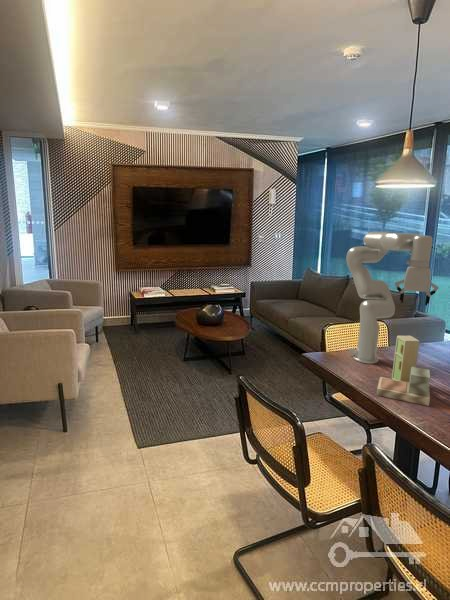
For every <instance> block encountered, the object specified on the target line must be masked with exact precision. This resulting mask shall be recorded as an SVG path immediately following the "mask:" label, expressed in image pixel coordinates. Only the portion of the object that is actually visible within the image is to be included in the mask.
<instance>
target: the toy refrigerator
mask: <svg viewBox="0 0 450 600" xmlns="http://www.w3.org/2000/svg"><path fill="white" fill-rule="evenodd" d="M394 349H395V350H394V355H393V357H394V358H393V364H392V365H393V366H392V373H391V379H395V380H400V381H405V382H409V380H410V374H411V367H417V363H418V355H419V349H420V340H419V339H417V338H415V337H414V336H412V335H397V336H396V342H395V348H394Z"/></svg>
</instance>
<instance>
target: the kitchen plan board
mask: <svg viewBox="0 0 450 600" xmlns="http://www.w3.org/2000/svg"><path fill="white" fill-rule="evenodd" d="M430 372H431V369H428V368H423V367H418V366H416V367H411V374H410V380H409V382H405V381H400V380H395V379H392V378H390V377H384V376H379V379H378V384H377V388H376V396H379V397H384V398H388V399H394V400H397V401H403V402H407V403H408V402H409V403H412V404H418V405H422V406H427V407H429V406H430V402H431V401H430V399H431V393H430V391H431V390H430V381H431V373H430Z"/></svg>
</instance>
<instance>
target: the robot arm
mask: <svg viewBox="0 0 450 600" xmlns="http://www.w3.org/2000/svg"><path fill="white" fill-rule="evenodd" d="M433 240H434V239H433V237H432V236H431V235H423V234H419V233H411V232H410V233H406V232H405V233H401V232H400V233H399V232H397V233H396V232H395V233H394V232H391V231H370V232H367V233H366V234H365V236H364V237H363V244H364V246H362V245H361V246H354V247H351V248H349V249H348V251H347V253H346V256H345V257H346V258H345V259H346V265H347V268H348V270H349V273H351V276H352V279H353V282H354V286H355V289H356V292H357V295H358V297H360V299H365V300H363V301H361V303H360V305H359V316H360V317H359V330H358V337H357V338H358V339H357V348H354V349H352V348H348V349H347V353H349V354H351V355H352V359H353V360H355V362H356V361H357V362H358V363H363V364H370V365H372V364H373V365H374V364H377V363H378V362H379V358H378V357H377V349H378V341H379V334H380V324H379V322H378V319H388V318H392V317H393V316H394V315H395V313H396V312H395V311H396V307H395V302H394V300H393V297H392V294H391V291H390V288H389V284H387V282H385V281H384V280H381V279H380V280H379V279H372V276H371V273H370V271H369V269H368V268H367V266H365V265H364V264H376V263H378V262H380V261H381V260H382V259H383V258H384V256H385V255H386V254H387V253H388V252H389V251H399V252H400V251H406V252H411V253H410V260H406V265H408V266H407V268H406V271H405V275H404V279H401V280H399V281H395V282H394V286H395V288H396V290H397V291H398V292H399V293H400V294H399V295H400V296H399V301H400V303H401V304H402V303H404V297H405V292H406V291H409V292H419V293H420V292H421V293H425V294H426V296H425V302H424V305H425V306H426V307H427V306H428V304H430V299H431V297H432V296H433V295H434V294H436V293H437V292H438V290H439V286H438V285H436V284H435V283H433V282H431V279H432V278H431V276H432V273H431V271H432V270H431V268H430V260H431V256H432V255H431V253H432V247H433ZM401 284H403V287H402V288H401V287H400V285H401ZM431 287H432V288H433V289H432V290H431V291H430V288H431Z"/></svg>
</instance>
